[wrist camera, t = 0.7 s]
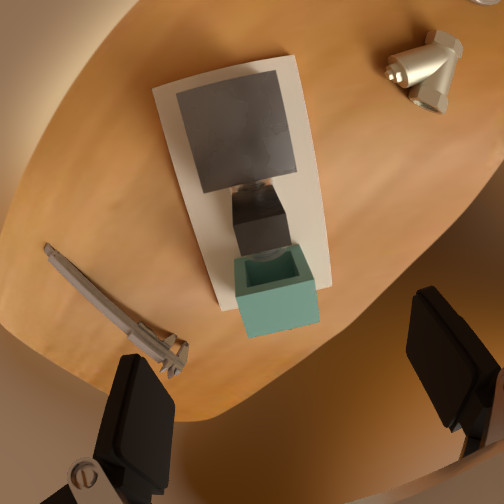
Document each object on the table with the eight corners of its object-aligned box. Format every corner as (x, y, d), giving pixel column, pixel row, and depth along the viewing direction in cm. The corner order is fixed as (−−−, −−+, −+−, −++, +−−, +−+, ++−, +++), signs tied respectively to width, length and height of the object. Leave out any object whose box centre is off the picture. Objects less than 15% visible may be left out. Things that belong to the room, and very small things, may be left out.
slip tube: (247, 79, 21) (258, 67, 13) (282, 237, 28) (304, 298, 20) (204, 89, 22) (190, 83, 14) (245, 246, 28) (252, 310, 20)
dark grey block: (265, 76, 23) (275, 69, 17) (282, 155, 26) (297, 172, 20) (188, 94, 23) (175, 93, 17) (209, 172, 26) (203, 193, 21)
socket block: (299, 244, 30) (314, 279, 24) (305, 283, 32) (320, 321, 27) (233, 259, 30) (235, 297, 25) (244, 297, 32) (248, 338, 27)
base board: (292, 56, 23) (294, 54, 22) (329, 281, 33) (332, 286, 32) (154, 88, 23) (151, 88, 22) (221, 305, 34) (221, 311, 33)
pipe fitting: (373, 83, 24) (429, 113, 25) (390, 81, 21) (450, 116, 22) (394, 17, 21) (448, 49, 22) (411, 8, 18) (469, 46, 18)
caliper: (189, 341, 37) (185, 380, 31) (184, 345, 37) (179, 385, 31) (48, 241, 29) (20, 270, 24) (45, 248, 29) (17, 277, 24)
